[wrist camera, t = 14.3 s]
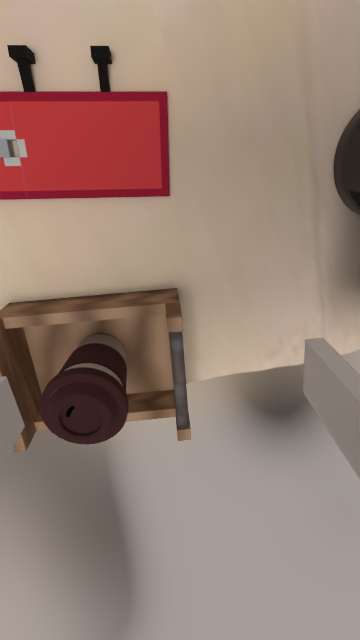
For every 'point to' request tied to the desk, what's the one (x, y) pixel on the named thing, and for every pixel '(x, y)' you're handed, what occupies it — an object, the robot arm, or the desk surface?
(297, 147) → the desk surface
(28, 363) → the wooden crate
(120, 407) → the coffee cup
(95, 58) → the red board with handle
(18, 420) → the robot arm
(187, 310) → the desk surface
